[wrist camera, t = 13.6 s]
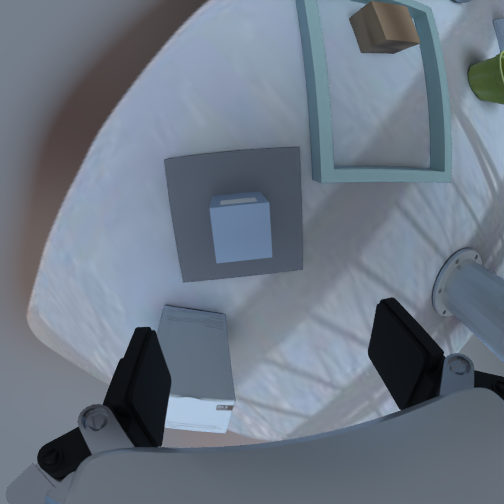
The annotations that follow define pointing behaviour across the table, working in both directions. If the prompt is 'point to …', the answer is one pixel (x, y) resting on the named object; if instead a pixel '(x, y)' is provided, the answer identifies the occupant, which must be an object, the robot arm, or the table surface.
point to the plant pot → (488, 79)
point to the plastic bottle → (463, 1)
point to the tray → (322, 109)
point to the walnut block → (384, 28)
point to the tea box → (499, 32)
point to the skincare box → (197, 369)
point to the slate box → (241, 227)
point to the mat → (230, 182)
